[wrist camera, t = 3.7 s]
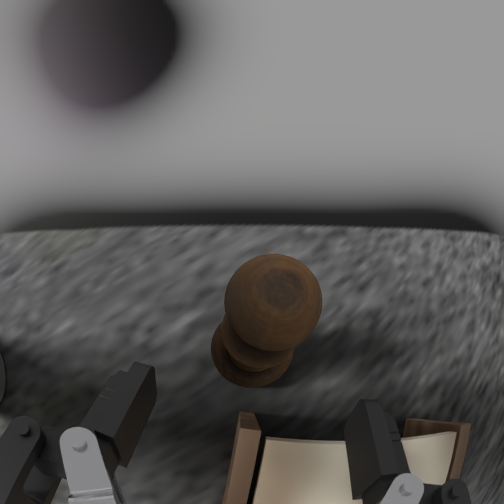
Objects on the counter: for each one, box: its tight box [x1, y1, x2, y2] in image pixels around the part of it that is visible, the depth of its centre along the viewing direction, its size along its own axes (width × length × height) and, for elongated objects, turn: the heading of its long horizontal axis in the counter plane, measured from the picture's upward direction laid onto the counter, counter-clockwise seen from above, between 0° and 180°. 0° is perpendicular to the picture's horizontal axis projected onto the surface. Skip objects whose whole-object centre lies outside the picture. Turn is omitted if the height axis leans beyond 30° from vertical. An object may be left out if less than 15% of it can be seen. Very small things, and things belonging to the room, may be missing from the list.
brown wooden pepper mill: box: [211, 254, 322, 388], centre depth 16 cm, size 7×6×18 cm
